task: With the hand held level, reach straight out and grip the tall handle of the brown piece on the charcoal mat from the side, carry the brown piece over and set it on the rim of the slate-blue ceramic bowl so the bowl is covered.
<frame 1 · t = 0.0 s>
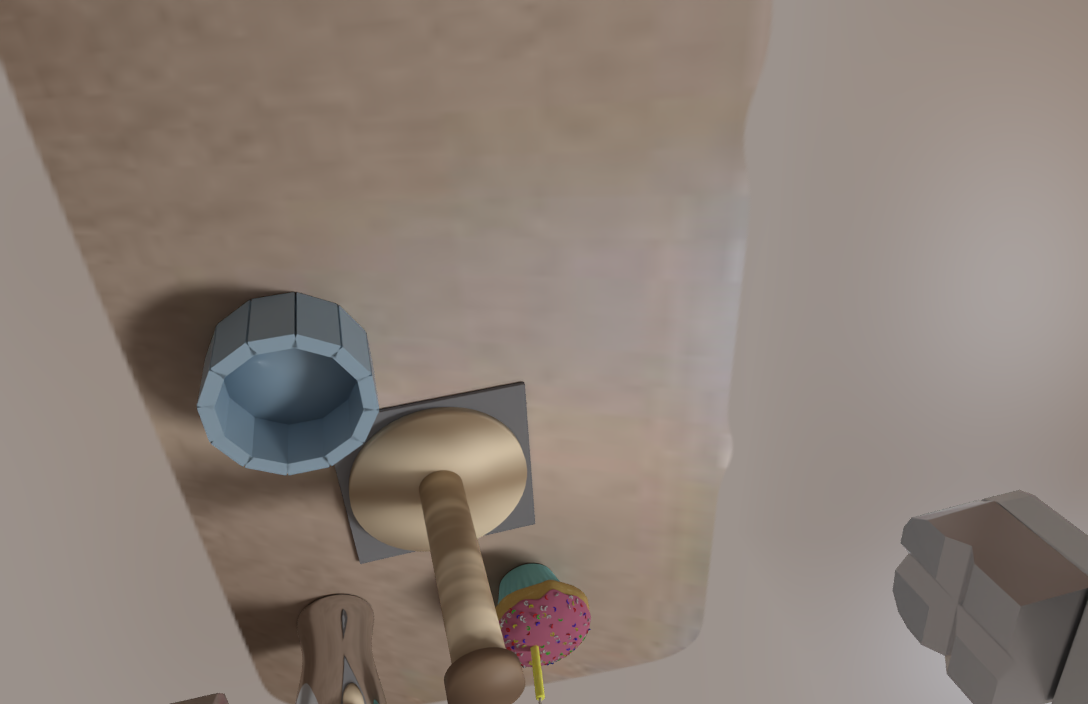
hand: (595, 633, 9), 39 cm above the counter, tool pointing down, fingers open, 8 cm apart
bowl: (291, 362, 50), on the counter
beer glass: (335, 617, 64), on the counter
cupcake: (526, 579, 67), on the counter
brown piece: (438, 478, 58), resting on mat
mat: (438, 475, 58), on the counter
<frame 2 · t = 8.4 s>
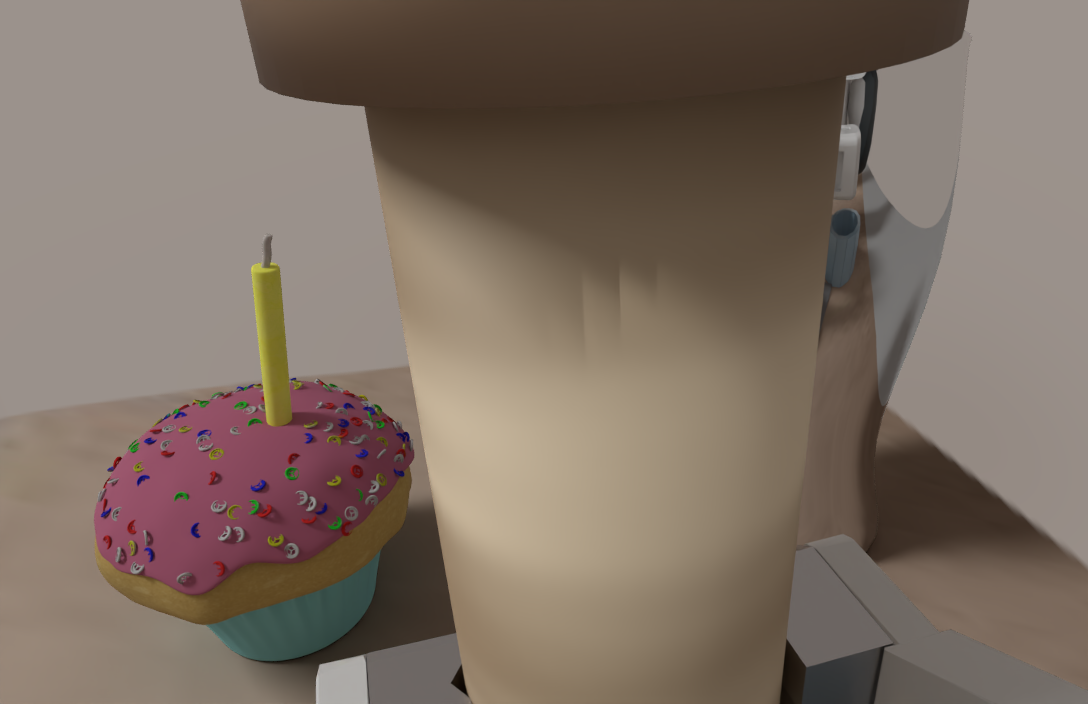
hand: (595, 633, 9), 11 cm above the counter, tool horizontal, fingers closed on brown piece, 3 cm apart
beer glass: (779, 516, 27), on the counter
cupcake: (296, 608, 24), on the counter
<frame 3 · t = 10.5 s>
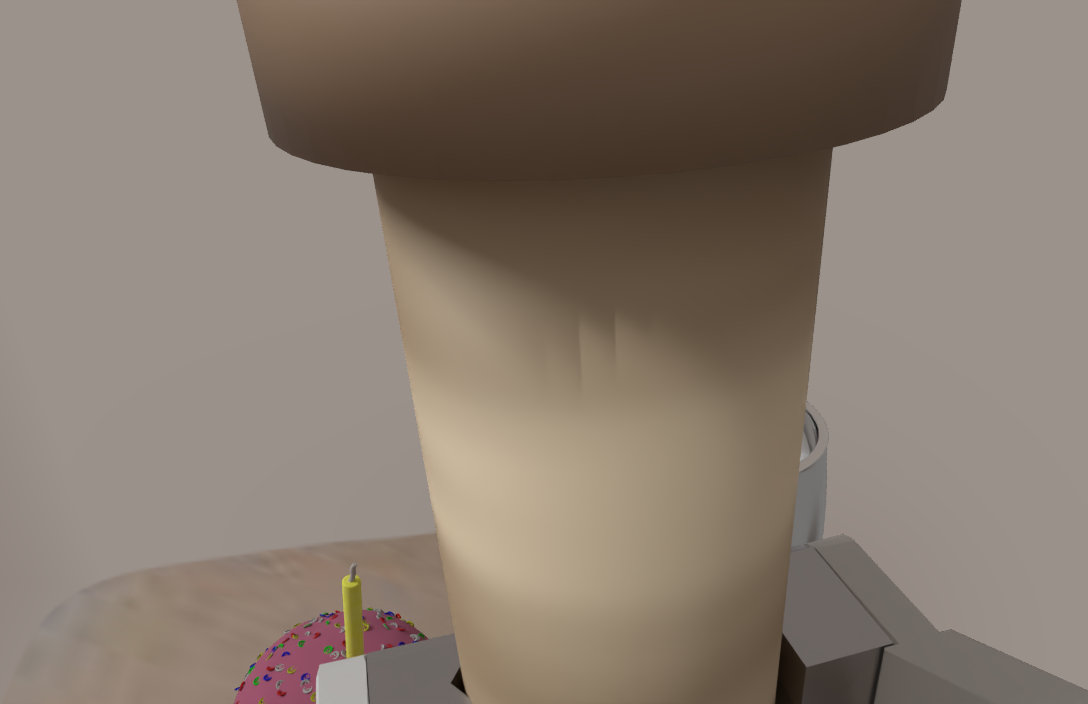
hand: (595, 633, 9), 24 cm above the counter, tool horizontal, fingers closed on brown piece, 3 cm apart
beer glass: (718, 702, 35), on the counter
when the fingers open (16 cm above the counter, at t = 12.8 s): brown piece stays where it is, resting on bowl.
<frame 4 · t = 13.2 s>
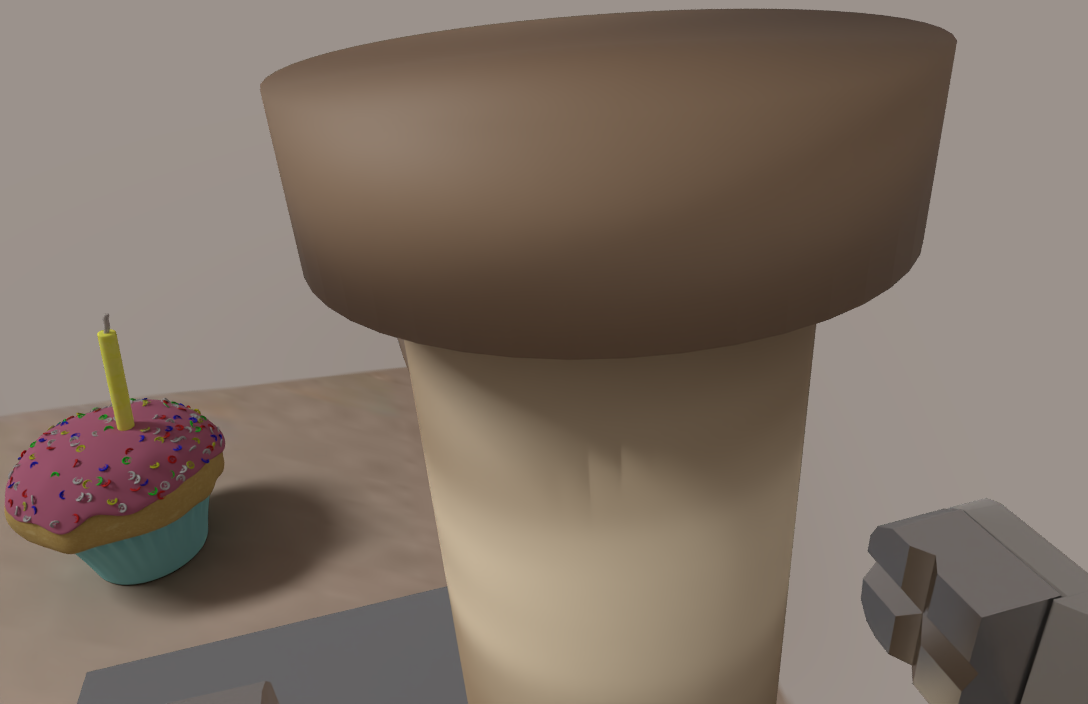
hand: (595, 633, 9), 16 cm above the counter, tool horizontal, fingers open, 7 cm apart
cupcake: (152, 553, 36), on the counter
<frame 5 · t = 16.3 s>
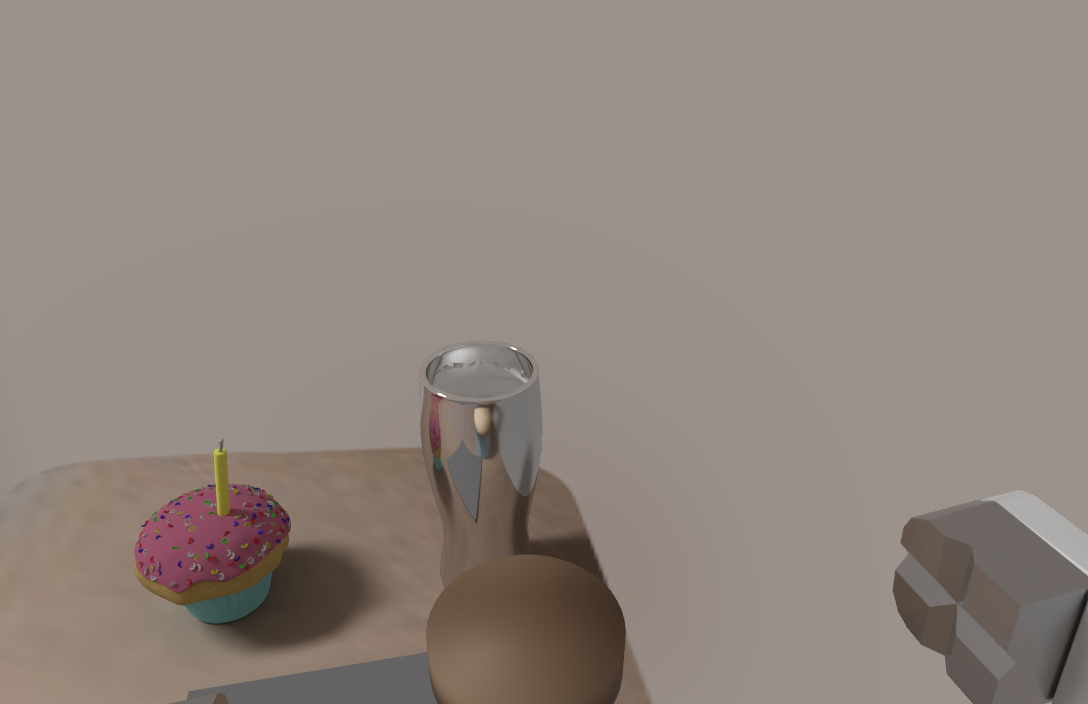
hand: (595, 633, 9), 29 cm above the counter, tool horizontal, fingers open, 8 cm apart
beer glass: (487, 571, 50), on the counter
cupcake: (228, 598, 48), on the counter
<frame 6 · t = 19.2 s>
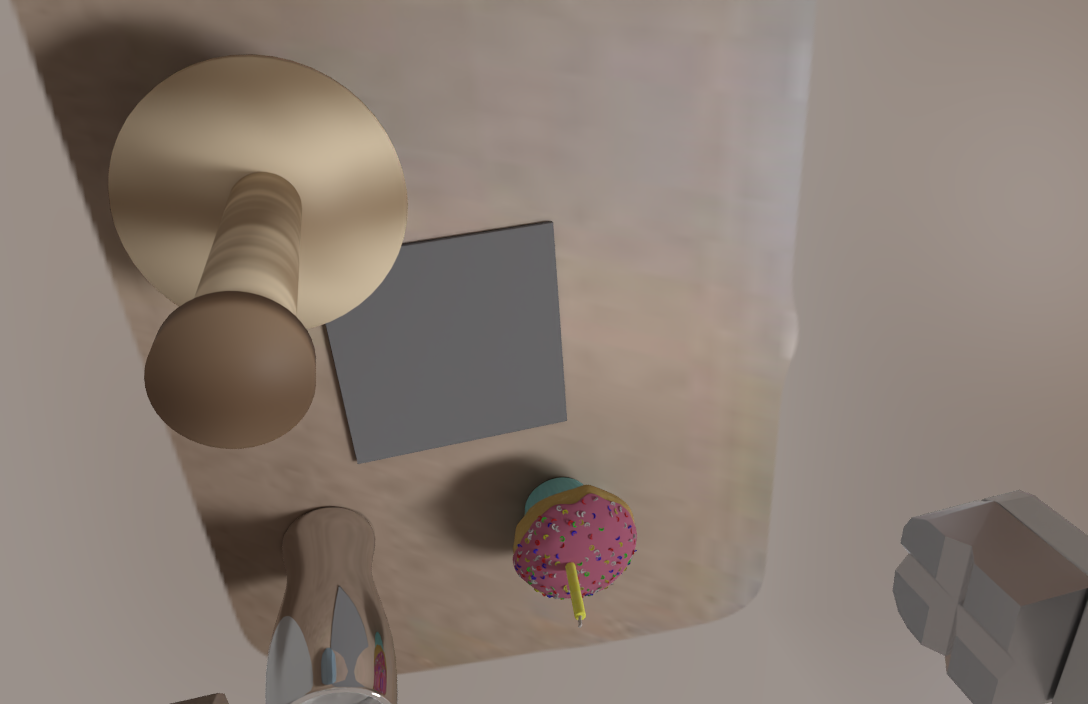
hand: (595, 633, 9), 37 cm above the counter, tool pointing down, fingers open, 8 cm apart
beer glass: (329, 540, 53), on the counter
cupcake: (557, 500, 56), on the counter
brown piece: (266, 200, 37), point 5 cm above the counter, touching bowl
mat: (450, 346, 49), on the counter
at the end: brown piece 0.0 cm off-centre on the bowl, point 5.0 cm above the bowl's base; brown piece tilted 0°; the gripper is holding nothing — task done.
